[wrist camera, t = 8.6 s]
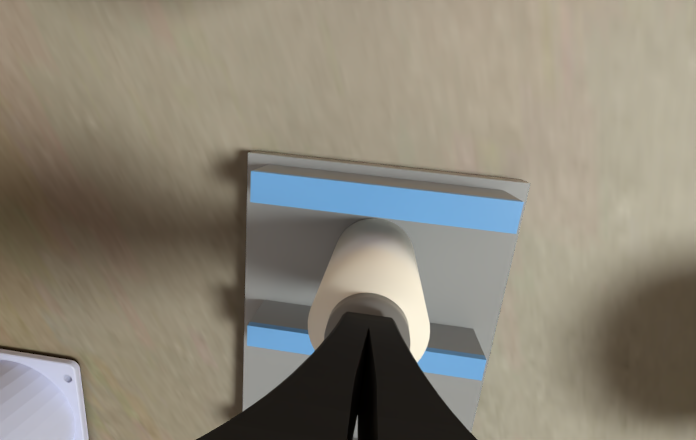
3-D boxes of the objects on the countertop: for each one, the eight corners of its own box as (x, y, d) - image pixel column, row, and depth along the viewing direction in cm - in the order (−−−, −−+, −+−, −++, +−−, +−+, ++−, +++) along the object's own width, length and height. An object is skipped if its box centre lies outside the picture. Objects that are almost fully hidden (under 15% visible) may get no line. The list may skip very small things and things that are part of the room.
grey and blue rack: (456, 461, 20) (469, 525, 17) (248, 427, 21) (224, 481, 18) (521, 179, 16) (555, 194, 13) (255, 150, 17) (225, 157, 13)
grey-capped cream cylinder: (408, 296, 17) (422, 404, 10) (332, 287, 17) (300, 386, 11) (419, 222, 16) (442, 291, 9) (338, 213, 16) (306, 274, 10)
